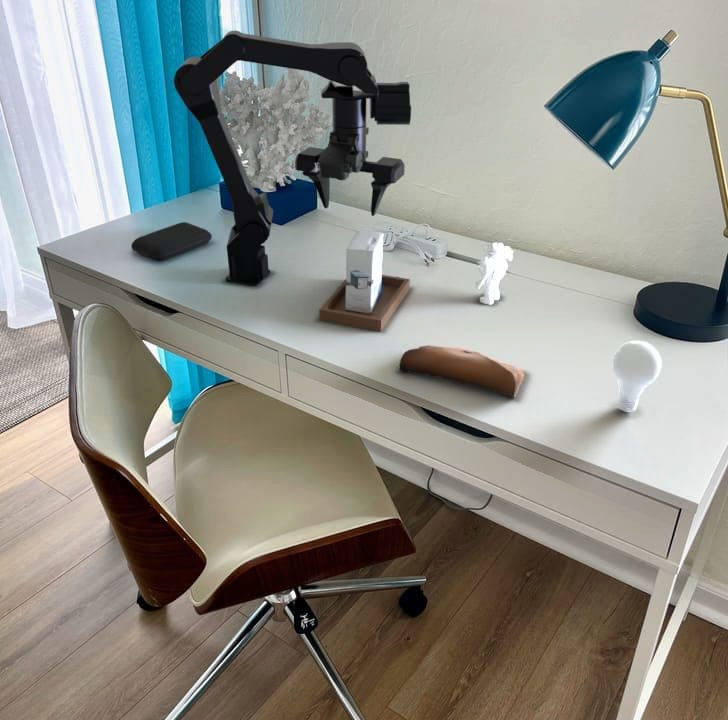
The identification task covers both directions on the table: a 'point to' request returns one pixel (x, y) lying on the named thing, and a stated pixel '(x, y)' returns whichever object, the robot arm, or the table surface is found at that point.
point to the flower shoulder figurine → (493, 270)
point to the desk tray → (381, 313)
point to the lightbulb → (634, 371)
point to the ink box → (363, 271)
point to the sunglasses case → (463, 368)
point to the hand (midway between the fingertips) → (349, 211)
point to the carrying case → (171, 241)
